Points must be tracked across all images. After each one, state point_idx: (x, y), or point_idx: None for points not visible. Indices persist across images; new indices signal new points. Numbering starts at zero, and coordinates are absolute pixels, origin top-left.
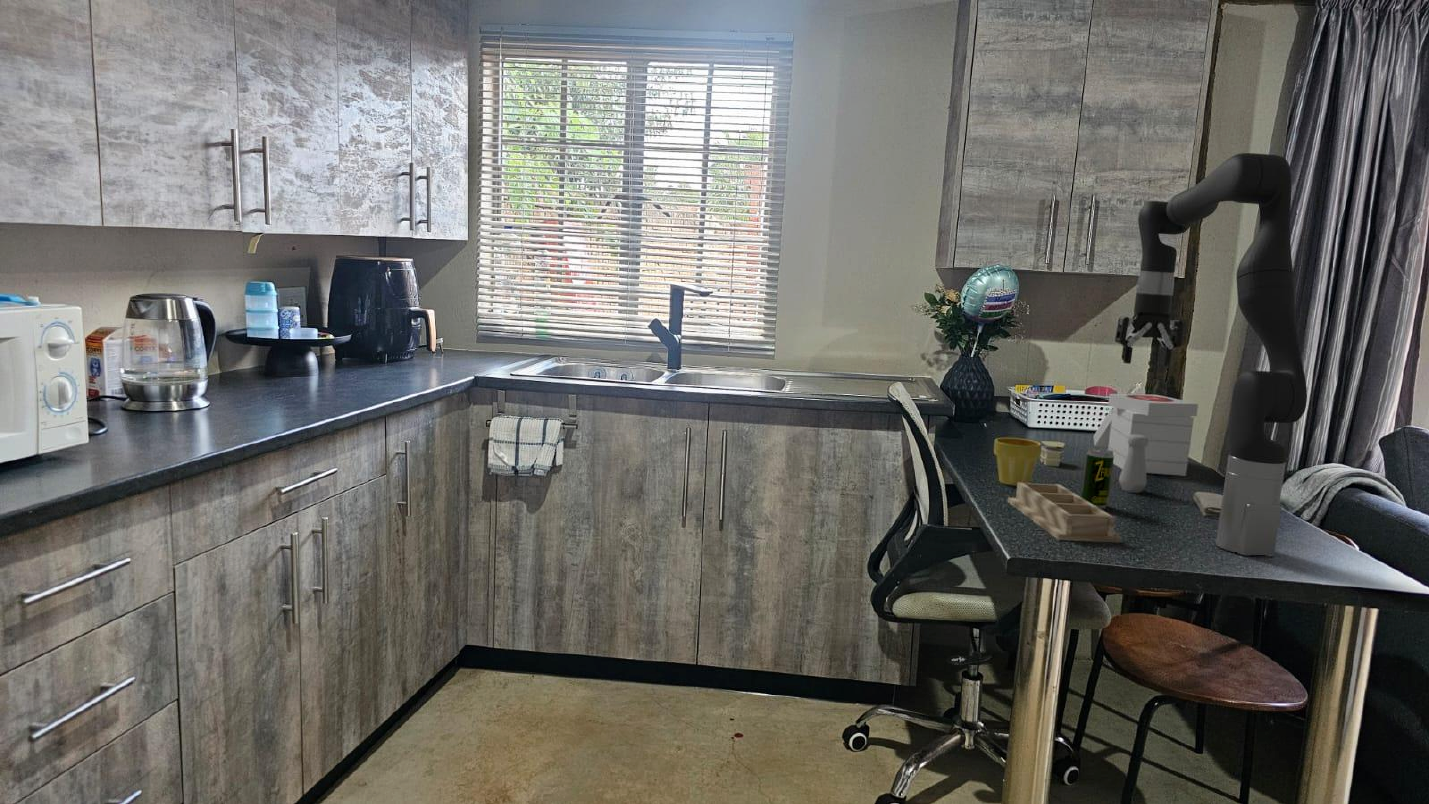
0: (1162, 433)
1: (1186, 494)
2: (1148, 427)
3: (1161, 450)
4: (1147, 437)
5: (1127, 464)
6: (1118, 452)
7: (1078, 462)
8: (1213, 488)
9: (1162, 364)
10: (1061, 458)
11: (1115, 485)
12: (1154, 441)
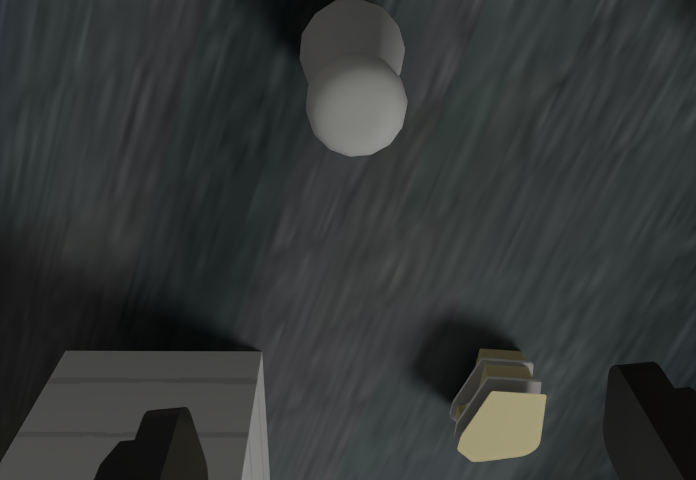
0: None
1: (136, 54)
2: None
3: (132, 408)
4: None
5: (393, 54)
6: (261, 449)
7: (384, 419)
8: (5, 194)
9: (193, 437)
10: (471, 379)
11: None
12: None
